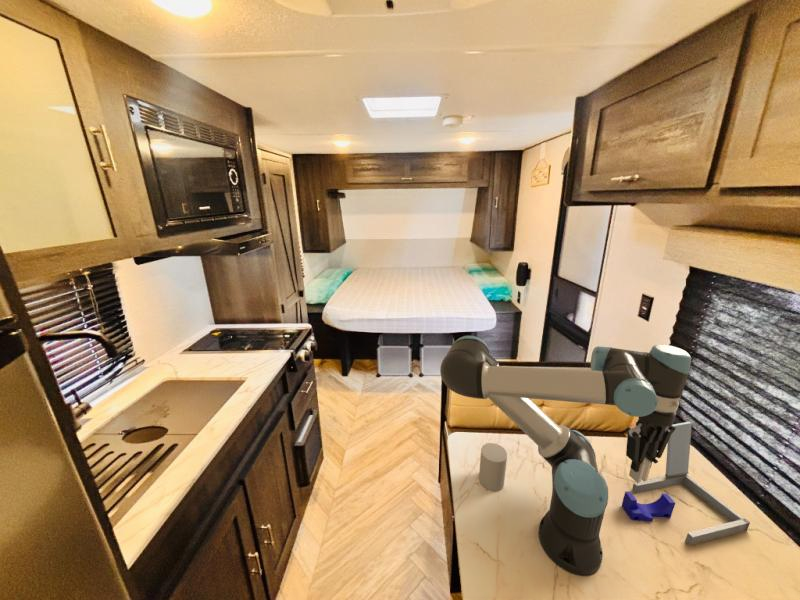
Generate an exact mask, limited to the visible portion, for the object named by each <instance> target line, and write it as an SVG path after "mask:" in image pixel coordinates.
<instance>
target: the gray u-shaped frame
mask: <svg viewBox="0 0 800 600" xmlns="http://www.w3.org/2000/svg"><path fill="white" fill-rule="evenodd" d="M679 484H683V485H685V486H686V487H687V488H688V489H690V490H691V491H692V492H694V493H695V494H696V495H697V496H698V497H700V498H701V499H702V500H704V501H705V502H706V503H707V504H708V505H710V506H711V507H712V508H713V509H715V510H716V511H717V512H719V514H721V515H722V516H724V517H725V518H726V519H728V521H729V522H725V523H723V524H718V525H713V526H710V527H706V528H705V527H704V528H702V529H698V530H694V531H690V532H687V535H686V537H685V543H687V544H688V545H689V546H693V545H696V544H700V543H704V542H708V541H711V540H715V539H720V538H723V537H727V536H732V535H734V534H739V533H742V532H747V531H748V528H749V526H750V524H751V522H750V521H749V520H747V519H746V518H745V517H744V516H742V515H741V514H740V513H738V512H737V511H736V510H734V509H733V508H732V507H731V506H729V505H728V504H727V503H725V502H724V501H723V500H721V499H720V498H719V497H717V496H716V495H715V494H713V493H712V492H710V491H709V490H708V489H707V488H706V487H705V486H702V484H701V483H699V482H698V481H696V480H695V479H693V478H692V477H691V476H690V475H689V474H684V475H680V476H675V477H670V478H667V477H666V476H665V475H664V476H660V477H655V478H651V479H647V481H646V482H644V481H643V480H641V482H640V483H637V482H636V481H635V482H633V484H632V489H631V491H632V492H633V493H634V494H637V493H643V492H646V491H652V490H656V489H657V490H658V489H661V488H666V487H671V486H674V485H676V486H677V485H679Z"/></svg>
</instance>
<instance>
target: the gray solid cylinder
mask: <svg viewBox="0 0 800 600" xmlns="http://www.w3.org/2000/svg"><path fill="white" fill-rule="evenodd" d="M480 450H481V451H480V461H479V462H480V463H479V472H478V481H479V484H480V486H482V488H483V489H485V490H486V491H489V492H492V493H495V492H496V493H497V492H500V491H502V490H503V489H504V486H505V478H506V470H507V461H508V460H507V459H508V452H507V450H506V449H505V448H504V447H503V446H501V445H500V444H498V443H495V442H487V443H485V444H483V445H482V447H481V449H480Z"/></svg>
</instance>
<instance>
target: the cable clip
mask: <svg viewBox="0 0 800 600" xmlns="http://www.w3.org/2000/svg"><path fill="white" fill-rule="evenodd" d="M675 506H676V502H675V500H673V498H672V497H671V496H670V494H669V493H661V495H660V496H659V498H658V499H657V500H654V501H653V502H650V503H649V502H648V503H639V502H638V500H637V499H636V497H635V495H633V493H632V492H631V491H628V490H626V491H625V492H624V495H623V498H622V502H621V508H622V509H623V511H624V512H625V514H626V516H627V517H628V518H629V519H630V521H635V522H637V521H638V522H651V523H652V522H654V518H661V519H664V518H665V519H671V518H672V514H673V513H674V512H673V511H674V509H675Z"/></svg>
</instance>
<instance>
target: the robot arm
mask: <svg viewBox="0 0 800 600" xmlns="http://www.w3.org/2000/svg"><path fill="white" fill-rule="evenodd" d="M691 362H692V357H691V355H690V354H689V352H687V351H686V350H684V349H682V348H680V347H677V346H673V345H668V344H655V345H653V346H651V349H650V350H649V352H646V351H638V350H637V351H635V350H630V349H629V350H628V349H622V348H617V347H612V346H595V347H594V348H593V349H592V351H591V356H590V369H589V370H588V369H564V368H545V367H544V368H543V367H521V366H500V364H499V361H498V360H496V359H495V358H494V357H493V356H492V355H491V354H490V349H489V346H488V344H487V343H486V342H485V341H484V340H483V339H481V338H480V337H478V336H474V335H463V336H461V337H459V338H458V339H456V340H455V342H454V343H453V344H452V345H451V346H450V347H449V350H448V352H446V354H445V356H444V358H443V359H442V361H441V362H440V363H441V364H440V369H439V371H440V376H441V379H442V380H441V381H442V382H443V383H444V385H445V386H446V387H447V388H448V389H449V390H450V391H452V392H454V393H455V394H457V395H460V396H463V397H465V398H466V397H467V398H472V399H478V400H487V399H489V400H490V401H491V402H492V403H493V404H495V406H497V408H498V409H499V410H500V411H502V413H503V414H505V415H506V416H507V418H509V419H510V420H511V421H512V422H513V423H514V424H515V425H516V426H517V427H518V428H519V429H520V430H521V431H522V432H523V433H524V434H525V435H526V436H528V438H529V439H531V440H532V442H533V443H535V444H536V445H537V452H538V454H539V455H540V456H541V457H542V458H543V459H544V460H545V461H546V462H547V463H548V464H549V465H550V466H551V479H552V480H551V483H552V484H551V485H552V491H551V499H550V505H549V509H548V510H547V512H546V513H545V514H544V516H543V517H542V518H541V519H540V523H539V524H538V525H539V526H538V533H537V534H538V539H539V544H540V545H541V547H542V549H543V551H544V553H545V554H546V556H547V557H548V558H549V559H550V560H551V561H552V562H553V563H555V565H557V566H558V567H559V568H561V569H562V570H564V571H566V572H568V573H570V574H573V575H575V576H579V577H580V576H581V577H588V576H592V575H595V574H596V573H597V572H598V571H599V570H600V568H601V566H602V562H603V557H604V555H603V554H604V553H603V547H602V545H601V542H602V541H601V539H600V531H601V528H602V523H603V520H604V515H605V512H606V509H607V507H608V503H609V488H608V484H607V481H606V479H605V478H604V476H603V474H601V473H600V472H599V469H598V468H599V467H598V465H597V464H598V463H597V458H596V457H597V456H596V453H595V450H594V447H593V445H592V443H591V442H590V440H589V439H588V438H587V437H586V436H585V435H584V434H582V433H581V432H580V431H578V430H575V429H571V428H569V427H567V426H566V425H564V424H562V425H561V424H560V425H559V424H557V423H556V422H555V421H554V420H553V419H552V418H551V417H549V415H547V413H545V412H544V411H543V409H541V408H540V407H539V406H538V405H537V404H536V403H535V402H534V401H533V400H545V401H554V402H555V401H556V402H570V403H571V402H572V403H580V404H582V403H583V404H595V405H608V406H615V407H617V408H618V409H619V411H621V412H622V413H624V414H626V415H628V416H632V417H635V418H636V417H637V418H638V420H637V421H636V422H635V426H634V427H633V428H631V427H630V426H627V428H626V429H625V432H626V433H627V437H626V438H627V439H626V452H625V453H626V454H625V456H626V457H627V458H629V459H630V460H631V463H630V469H629V475H628V476H629V477H630V478H631V479H633V480H634V481H635V482H637V483H640V482H641V481H644V482H646V481H647V480H648V478H649V474H650V472H651V471H650V470H651V468H652V465H653V463H654V464H657V463H658V462H659V460H658V459H661V458H662V456H663V455H664V452H665V449H666V447H667V446H668V441H669V439H670V436H671V434H672V433H673V432H674V431H675V429H676V427H674V426H673V424H675V423H674V422H675V419H676V415H677V411H678V408H679V406H680V402H681V401H680V400H681V397H682V395H683V391H684V387H685V385H686V381H687V379H688V375H689V374H690V368H691V364H692V363H691ZM531 399H533V400H531ZM656 458H658V459H656Z"/></svg>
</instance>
